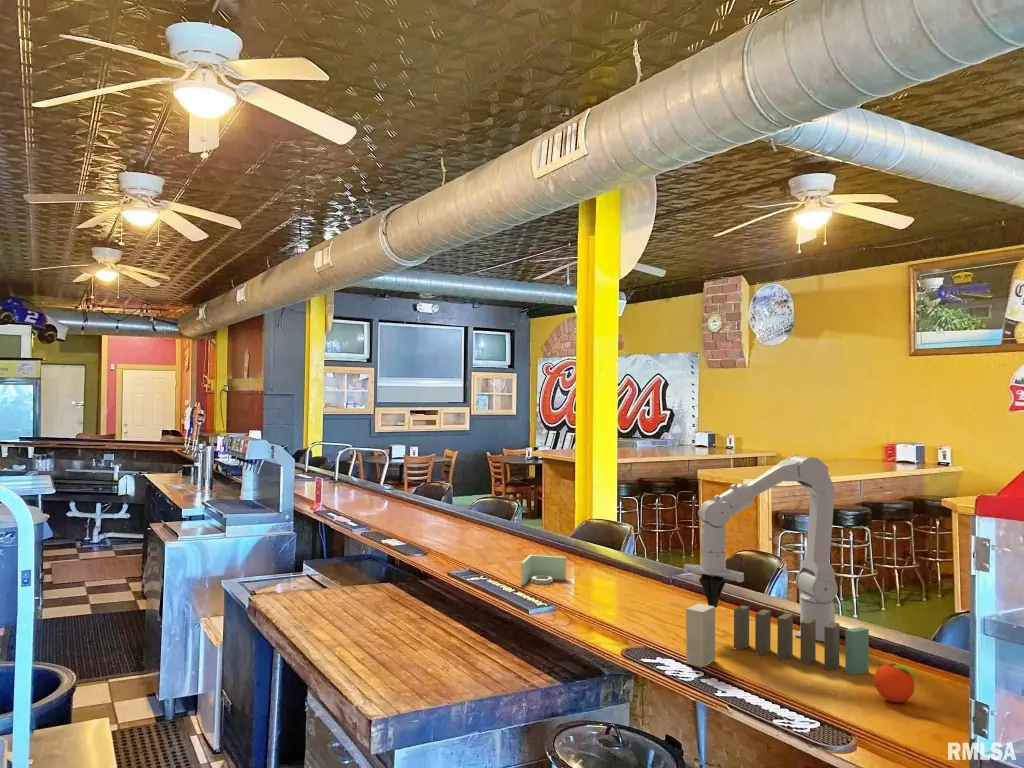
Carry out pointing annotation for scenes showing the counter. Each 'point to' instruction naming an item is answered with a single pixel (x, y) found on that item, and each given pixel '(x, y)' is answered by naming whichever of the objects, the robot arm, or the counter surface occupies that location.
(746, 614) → the domino
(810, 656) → the domino
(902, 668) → the clementine
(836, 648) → the domino
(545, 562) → the l-shaped corner panel
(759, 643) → the domino
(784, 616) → the domino
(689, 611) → the skincare box
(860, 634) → the domino
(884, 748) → the counter surface
